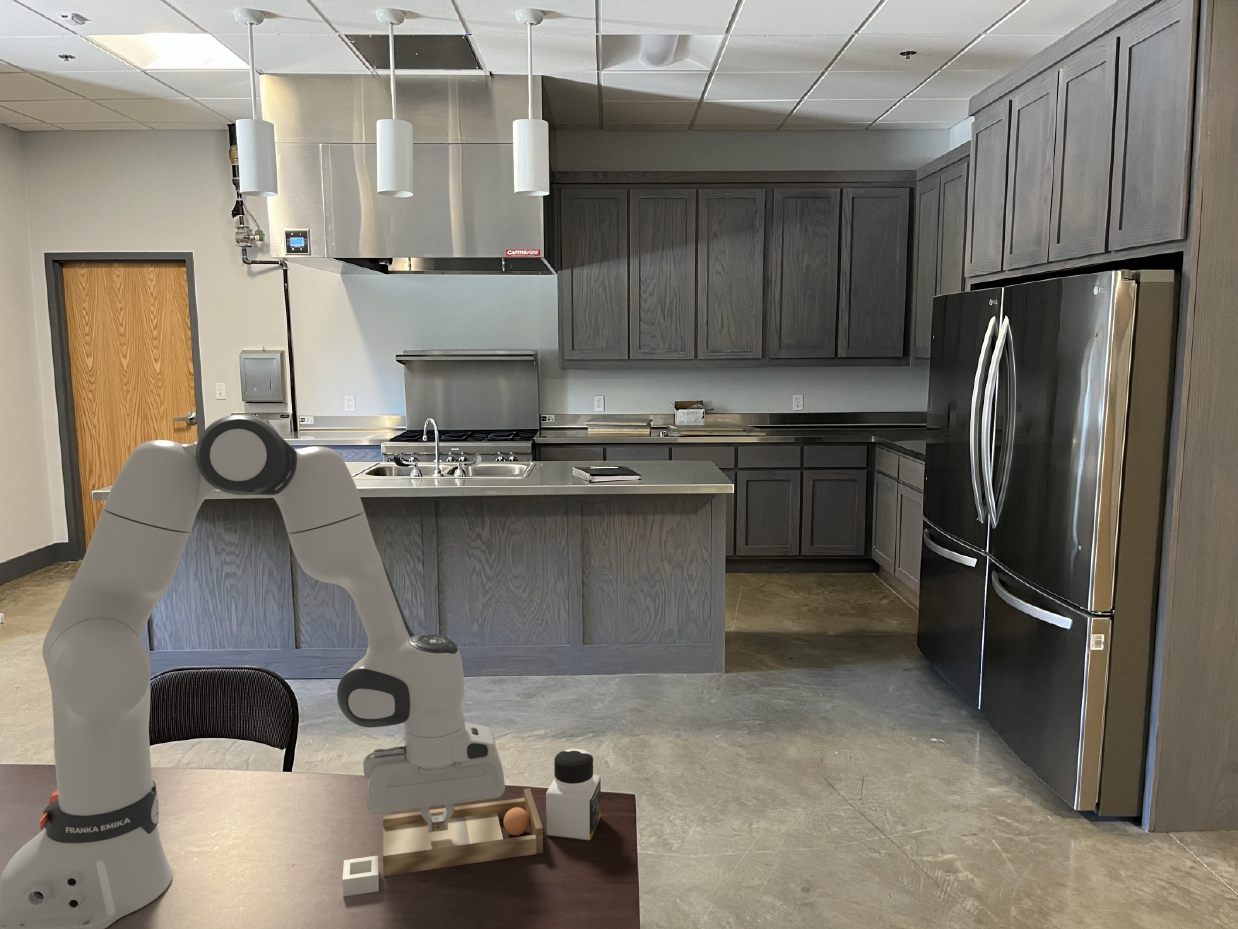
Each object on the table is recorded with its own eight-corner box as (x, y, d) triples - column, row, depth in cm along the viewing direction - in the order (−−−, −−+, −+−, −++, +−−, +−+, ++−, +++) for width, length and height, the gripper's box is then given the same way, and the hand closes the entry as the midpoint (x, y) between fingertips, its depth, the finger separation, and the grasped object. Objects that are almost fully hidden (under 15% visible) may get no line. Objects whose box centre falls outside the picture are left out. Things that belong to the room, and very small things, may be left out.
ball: (506, 816, 132) (532, 816, 133) (503, 802, 136) (529, 802, 137) (503, 840, 133) (529, 840, 134) (500, 826, 137) (525, 826, 138)
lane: (383, 876, 124) (382, 850, 124) (383, 831, 136) (382, 807, 135) (542, 853, 130) (542, 828, 130) (530, 811, 142) (529, 788, 141)
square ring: (343, 896, 120) (342, 880, 119) (344, 876, 124) (343, 860, 124) (378, 891, 121) (378, 874, 121) (378, 871, 125) (378, 855, 125)
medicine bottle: (590, 841, 133) (590, 767, 132) (545, 836, 135) (545, 762, 133) (600, 816, 140) (601, 746, 139) (558, 812, 142) (557, 742, 140)
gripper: (362, 761, 124) (365, 851, 126) (505, 744, 129) (507, 831, 131) (363, 741, 130) (366, 828, 132) (500, 726, 135) (501, 810, 137)
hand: (437, 829), depth 132 cm, fingers closed
